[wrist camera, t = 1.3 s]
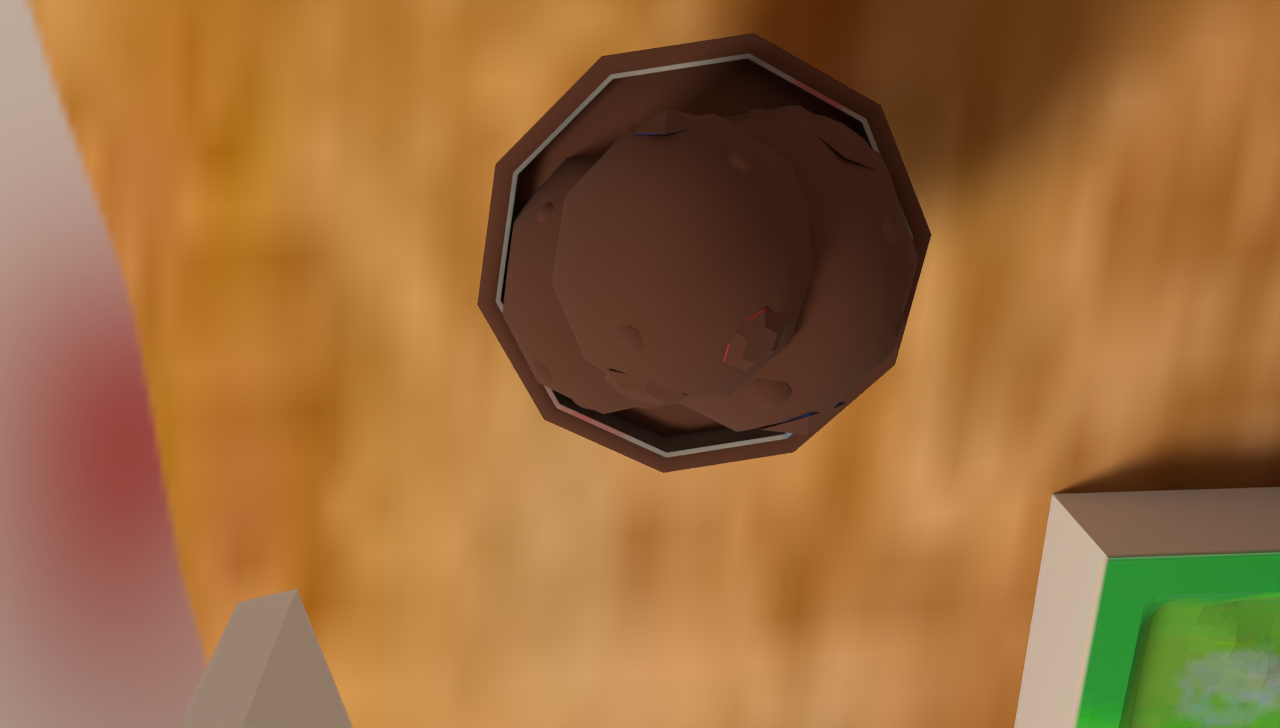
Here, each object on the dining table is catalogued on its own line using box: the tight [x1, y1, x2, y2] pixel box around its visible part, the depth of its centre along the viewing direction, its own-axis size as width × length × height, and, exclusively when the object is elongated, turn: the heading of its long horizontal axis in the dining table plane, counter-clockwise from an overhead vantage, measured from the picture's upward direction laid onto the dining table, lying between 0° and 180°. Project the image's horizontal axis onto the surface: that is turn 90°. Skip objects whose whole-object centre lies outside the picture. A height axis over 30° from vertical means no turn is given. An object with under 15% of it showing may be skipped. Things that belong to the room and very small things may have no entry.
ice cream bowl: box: [478, 33, 931, 473], centre depth 28 cm, size 11×11×15 cm
